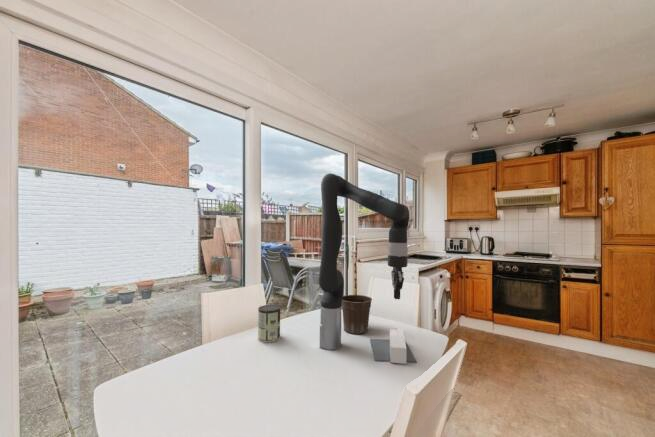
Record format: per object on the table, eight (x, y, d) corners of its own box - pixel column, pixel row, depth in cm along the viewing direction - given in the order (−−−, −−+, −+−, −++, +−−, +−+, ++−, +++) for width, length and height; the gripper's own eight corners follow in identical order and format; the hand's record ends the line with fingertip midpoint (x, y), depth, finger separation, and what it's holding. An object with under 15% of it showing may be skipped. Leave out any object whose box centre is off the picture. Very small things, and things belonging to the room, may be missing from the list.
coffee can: (268, 332, 139) (269, 303, 139) (284, 336, 133) (285, 306, 134) (252, 339, 130) (253, 308, 130) (269, 344, 125) (269, 312, 125)
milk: (390, 346, 108) (389, 326, 130) (390, 362, 108) (389, 340, 130) (406, 348, 107) (403, 328, 129) (406, 364, 107) (403, 341, 129)
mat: (375, 361, 110) (375, 359, 110) (369, 339, 131) (369, 338, 131) (416, 362, 109) (416, 361, 109) (404, 341, 130) (404, 339, 130)
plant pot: (341, 323, 153) (341, 293, 153) (371, 325, 150) (371, 295, 151) (338, 335, 137) (338, 301, 137) (372, 337, 134) (372, 303, 135)
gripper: (385, 252, 117) (384, 294, 117) (390, 255, 104) (390, 302, 104) (403, 252, 117) (403, 295, 117) (411, 256, 104) (410, 303, 103)
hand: (396, 298), depth 110 cm, fingers closed
